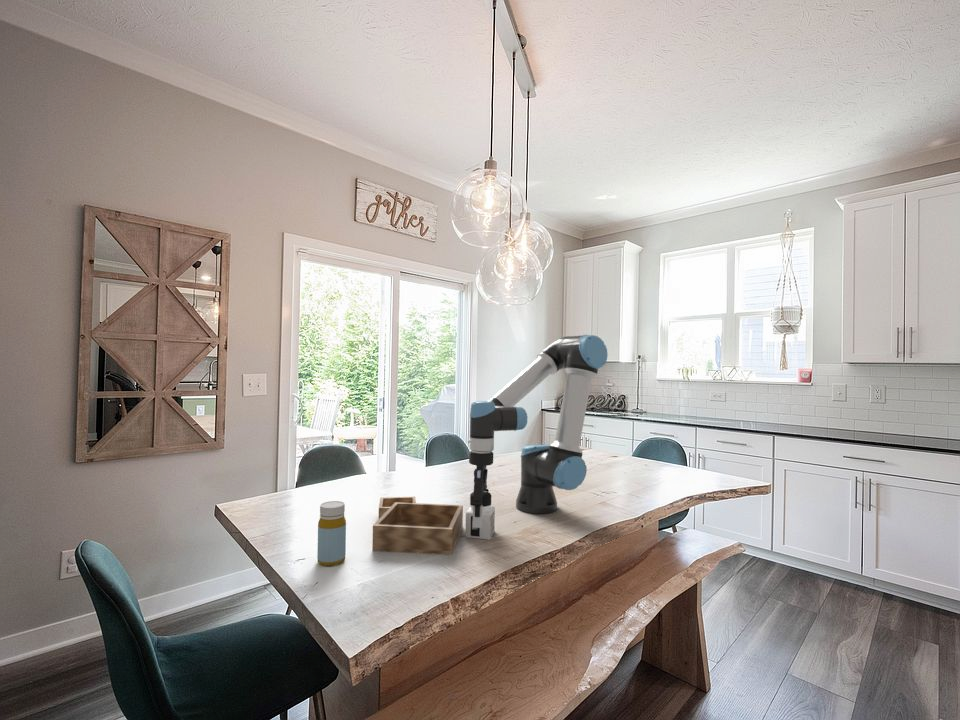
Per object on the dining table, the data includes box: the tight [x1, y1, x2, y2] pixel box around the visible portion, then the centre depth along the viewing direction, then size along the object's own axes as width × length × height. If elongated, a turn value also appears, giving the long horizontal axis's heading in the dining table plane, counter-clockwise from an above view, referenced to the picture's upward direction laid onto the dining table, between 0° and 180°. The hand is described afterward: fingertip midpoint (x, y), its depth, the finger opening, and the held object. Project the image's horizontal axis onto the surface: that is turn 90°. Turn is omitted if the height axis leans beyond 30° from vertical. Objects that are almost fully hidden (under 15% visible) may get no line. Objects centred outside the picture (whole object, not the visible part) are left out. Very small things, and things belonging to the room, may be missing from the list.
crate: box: [371, 502, 464, 556], centre depth 140 cm, size 22×22×7 cm
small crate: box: [377, 496, 417, 522], centre depth 156 cm, size 12×12×6 cm
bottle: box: [316, 500, 347, 567], centre depth 122 cm, size 7×7×15 cm
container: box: [465, 491, 496, 540], centre depth 144 cm, size 8×8×13 cm
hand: (479, 520), depth 143 cm, fingers open, 13 cm apart
